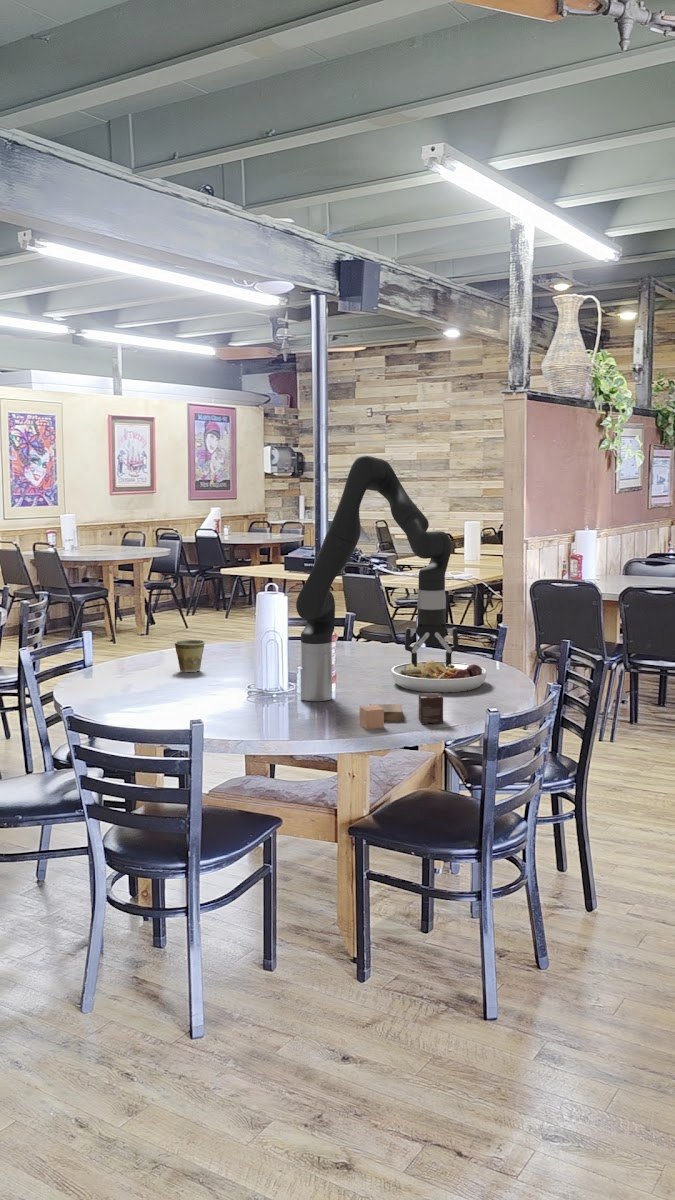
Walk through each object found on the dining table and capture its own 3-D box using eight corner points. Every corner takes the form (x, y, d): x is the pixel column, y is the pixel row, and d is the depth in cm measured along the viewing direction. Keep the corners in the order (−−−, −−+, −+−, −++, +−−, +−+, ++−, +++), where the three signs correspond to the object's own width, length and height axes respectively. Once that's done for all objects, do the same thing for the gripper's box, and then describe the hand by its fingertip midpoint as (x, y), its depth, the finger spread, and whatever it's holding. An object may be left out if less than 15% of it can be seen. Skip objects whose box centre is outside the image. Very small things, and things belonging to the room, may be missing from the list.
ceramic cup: (202, 674, 339) (202, 644, 338) (173, 673, 339) (172, 644, 338) (208, 666, 352) (207, 638, 350) (179, 666, 352) (179, 638, 351)
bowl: (375, 689, 315) (375, 664, 314) (414, 673, 341) (414, 650, 340) (466, 699, 301) (466, 673, 300) (499, 681, 327) (499, 657, 326)
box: (440, 719, 275) (440, 692, 274) (443, 724, 269) (443, 697, 268) (418, 719, 275) (418, 692, 274) (420, 724, 269) (420, 697, 268)
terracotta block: (366, 729, 265) (366, 710, 264) (359, 725, 269) (359, 706, 269) (383, 727, 266) (383, 709, 265) (377, 723, 271) (377, 705, 270)
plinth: (369, 722, 273) (369, 711, 273) (369, 714, 282) (369, 704, 282) (402, 722, 273) (402, 711, 273) (401, 714, 282) (401, 704, 282)
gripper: (405, 608, 265) (405, 669, 267) (459, 608, 265) (459, 668, 267) (404, 604, 272) (404, 663, 274) (457, 604, 272) (456, 663, 274)
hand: (431, 666), depth 270 cm, fingers open, 8 cm apart
